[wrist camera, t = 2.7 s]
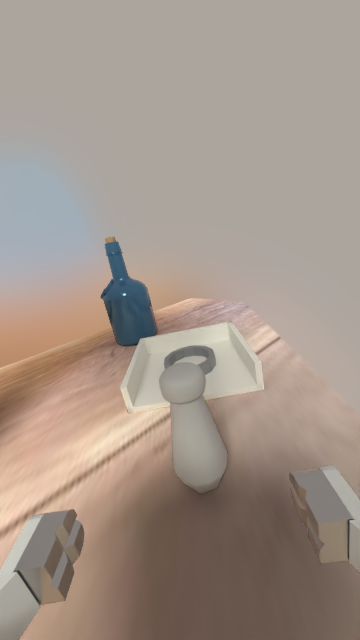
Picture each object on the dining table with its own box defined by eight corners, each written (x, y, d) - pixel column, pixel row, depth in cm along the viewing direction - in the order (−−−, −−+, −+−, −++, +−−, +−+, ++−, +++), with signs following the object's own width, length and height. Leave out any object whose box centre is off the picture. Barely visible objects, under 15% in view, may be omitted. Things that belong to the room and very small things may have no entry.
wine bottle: (158, 326, 77) (136, 234, 68) (158, 341, 64) (130, 230, 55) (118, 335, 76) (91, 243, 68) (111, 351, 64) (75, 241, 55)
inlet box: (264, 389, 35) (261, 361, 34) (128, 413, 36) (120, 387, 35) (233, 340, 54) (231, 321, 53) (145, 357, 55) (140, 338, 54)
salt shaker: (211, 442, 28) (192, 348, 24) (242, 480, 23) (224, 369, 19) (169, 467, 26) (141, 369, 22) (192, 515, 21) (161, 398, 17)
